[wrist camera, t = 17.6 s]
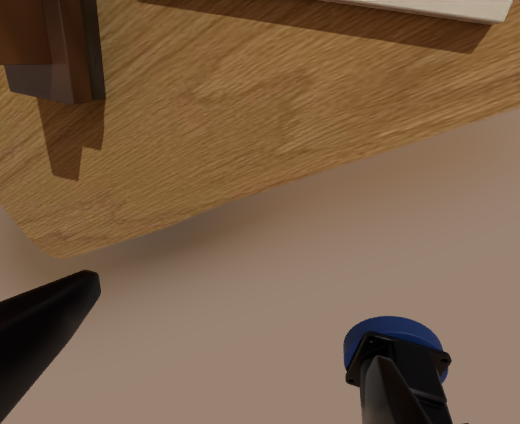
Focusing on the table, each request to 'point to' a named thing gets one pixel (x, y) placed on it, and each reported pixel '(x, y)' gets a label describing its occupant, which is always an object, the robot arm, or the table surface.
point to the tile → (443, 8)
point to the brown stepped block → (52, 49)
